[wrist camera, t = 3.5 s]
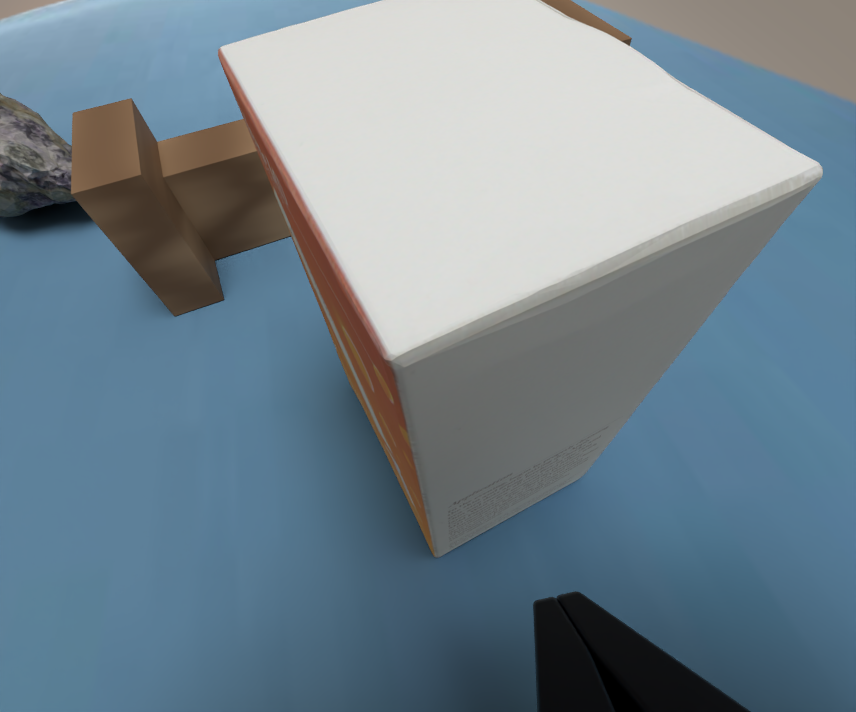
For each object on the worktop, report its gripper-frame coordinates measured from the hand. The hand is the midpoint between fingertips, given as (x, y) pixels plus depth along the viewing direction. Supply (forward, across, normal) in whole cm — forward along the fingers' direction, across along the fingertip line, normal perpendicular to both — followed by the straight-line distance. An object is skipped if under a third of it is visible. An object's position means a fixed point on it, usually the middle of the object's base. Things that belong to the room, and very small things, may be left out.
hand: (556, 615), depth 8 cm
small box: (+10, 0, 0) cm, 10 cm away
